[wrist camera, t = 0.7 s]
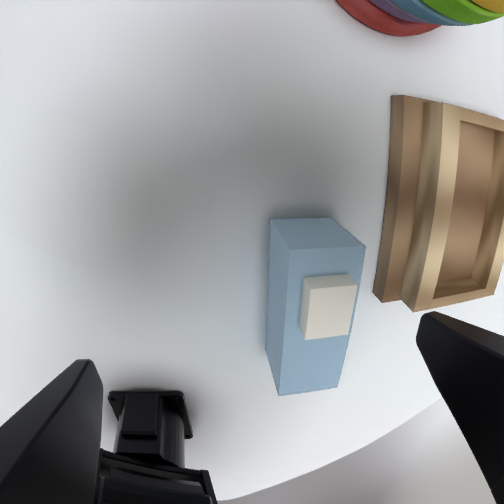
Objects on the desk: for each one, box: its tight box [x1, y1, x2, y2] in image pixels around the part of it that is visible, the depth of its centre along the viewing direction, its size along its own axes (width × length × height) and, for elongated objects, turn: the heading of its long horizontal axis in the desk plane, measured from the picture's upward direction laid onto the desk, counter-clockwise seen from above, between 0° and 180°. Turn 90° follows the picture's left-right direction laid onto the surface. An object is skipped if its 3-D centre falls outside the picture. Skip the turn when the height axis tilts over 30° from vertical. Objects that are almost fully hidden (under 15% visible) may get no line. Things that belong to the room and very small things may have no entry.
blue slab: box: [266, 218, 366, 396], centre depth 19 cm, size 10×4×6 cm, turn 0°
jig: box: [373, 95, 504, 312], centre depth 19 cm, size 14×12×4 cm
